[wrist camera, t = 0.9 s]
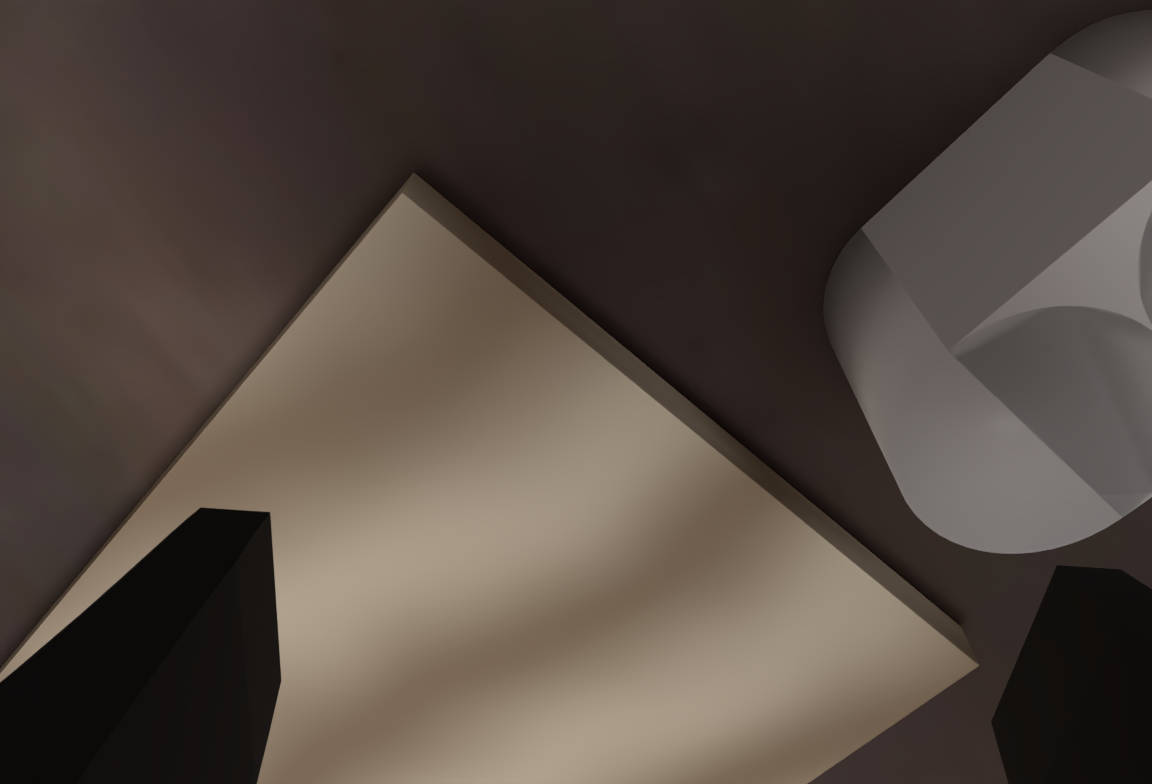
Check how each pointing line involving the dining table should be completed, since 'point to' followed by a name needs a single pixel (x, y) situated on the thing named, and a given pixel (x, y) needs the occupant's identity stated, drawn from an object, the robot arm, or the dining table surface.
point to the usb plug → (1017, 307)
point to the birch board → (526, 547)
